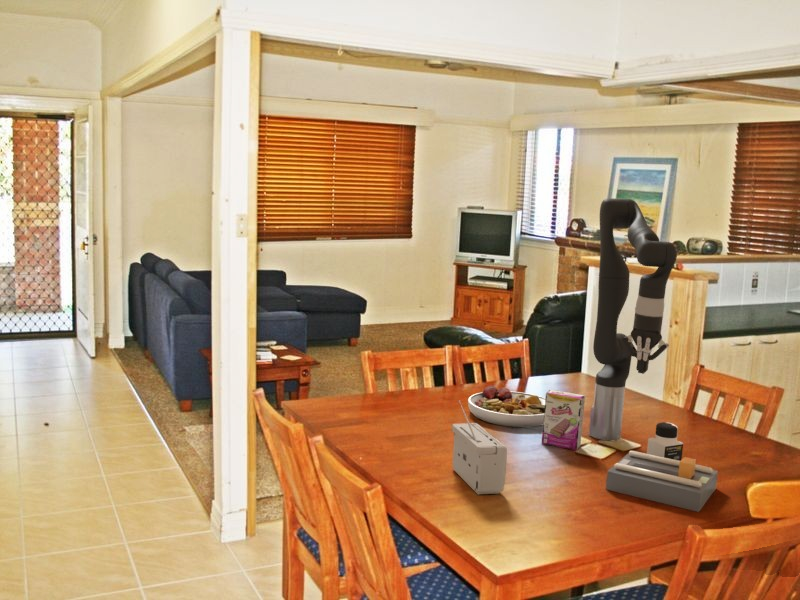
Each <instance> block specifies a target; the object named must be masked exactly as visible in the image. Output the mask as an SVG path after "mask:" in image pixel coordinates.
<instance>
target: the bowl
mask: <svg viewBox="0 0 800 600" xmlns="http://www.w3.org/2000/svg"><path fill="white" fill-rule="evenodd" d="M545 399H546V397H543V396H540V395H537V394H532V393H529V392H527V393H526V392H521V391H510V389H509V388H508V387H502V388H500V389H499V390H498V388H497V386H494V385H488V386H486V387H484V389H483V391H482V392H477V393H474V394H472V395H471V396H469V397H468V399H467V404H468V408H469V411H470V412H471V413H472V415H474V416H475V417H476V418H478V419H479V420H482V421H484V422H486V423H490V424H493V425H499V426H503V427H513V428H533V427H538V426H539V427H540V426H543V422H544V410H545Z"/></svg>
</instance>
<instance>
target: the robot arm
mask: <svg viewBox="0 0 800 600" xmlns="http://www.w3.org/2000/svg"><path fill="white" fill-rule="evenodd" d="M614 229H615V230H616V229H618V230H619V229H623V230H624V229H628V230H627V239H628V242H629V243H630V245H631V246H632V247H633V248H634V249H635V253H636V259H637V262H638V263H639V265H641V266H644V267H654V268H656V267H657V268H656V270H655V271H654V272H653V273H648V274H645V275H642V276H641V277H640V280H639V285H638V295H637V299H636V304H635V307H634V318H633V324H632V326H633V327H632V330H631V332H630V334H629V335H626V334H624V333H620V332H618V322H619V317H620V315H621V312H622V311H623V308H624V306H625V304H626V302H627V299H628V296H629V292H630V276H631V275H630V270H629V267H628V265H627V263H626V262H625V259H624V258H623V256H622V255H621V252H620V251H619V249H618V247H617V245H616V242H615V237H614V236H615V235H614ZM599 241H600V250H599V252H600V253H599V254H600V255H599V271H598V284H597V285H598V294H597V296H598V298H597V299H598V301H597V310H596V311H597V313H596V322H595V330H594V337H593V347H592V348H593V354H594V355H593V356H594V357H595V360H596V361H597V362H598V363H600V364H601V365H603V367H602V368H601V369H600V370H599V371H598V372H597V373H596V376H595V381H594V382H595V383H594V391H593V392H594V393H593V394H594V396H593V405H592V406H591V407H590V413H589V414H590V415H589V416H590V417H589V425H588V426H589V427H588V436H590V437H593V438H595V439H598V440H603V441H608V440H614V441H618V440H617V439H619V440H620V439H621V436H622V435H621V434H622V425H623V415H624V406H625V405H624V403H625V392H626V382H627V379H628V378H629V376H630V369H631V364H632V357H634V358H635V359H636V360H637V361H636V368H635V369H636V371H637V373H638V374H642V375H643V374H646V372H647V371H648V369H649V362H650V361H653V360H655V359H656V358H657V357H659V356H660V355H661V354H662V353H663V352H665V350H666V349H667V348H669V346H670V345H669V343H667V342H665V341H664V340H663V336H662V326H663V318H664V310H665V297H666V288H667V283H668V280H669V278H670V275H671V273H672V271H673V268H674V266H675V263H676V261H677V257H678V250H677V247H676V245H675V244H674V243H673V242H671V241H660V238H659V236H658V234H657V233H656V232H654V230H653V229H652V228H651V227H650V226H649V225H648V223H647V221H646V219H645V217H644V215H643V213H642V210H641V208H640V206H639V204H638V203H637V202H636V200H634V199H632V198H631V199H630V198H613V197H612V198H604V199H603V200H602V202H601V203H600V207H599ZM633 342H634V343H633ZM634 344H635V345H634ZM635 346H636V347H635ZM656 346H657V348H658V349H657V350H656V351H655V352H654V353H652V351H653V349H654V348H655V347H656Z"/></svg>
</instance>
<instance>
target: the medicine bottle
mask: <svg viewBox="0 0 800 600" xmlns="http://www.w3.org/2000/svg"><path fill="white" fill-rule="evenodd" d="M678 431H679V427H678V426H677V425H676V424H674V423H671V422H666V421H664V422H659V423H657V424H656V425H655V434H654V435H655V437H649V438H648V439H647V449H646V454H650V455H655V456H659V457H664V458H669V459H673V460H678V461H681V460H682V459H683V450H684V442H682V441H679V440H678Z"/></svg>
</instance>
